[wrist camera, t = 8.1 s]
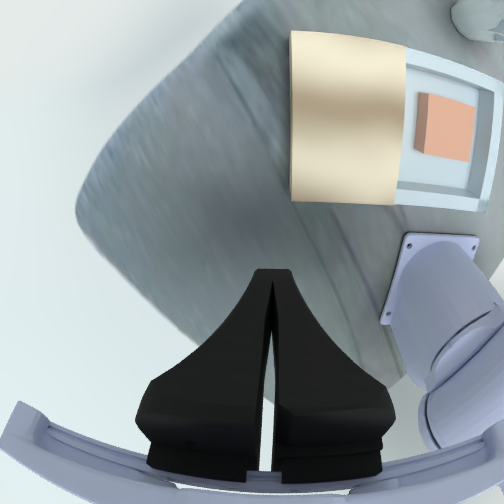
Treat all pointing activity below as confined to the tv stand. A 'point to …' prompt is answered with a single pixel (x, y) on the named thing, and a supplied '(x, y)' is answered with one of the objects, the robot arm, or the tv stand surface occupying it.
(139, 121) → the tv stand surface
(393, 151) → the beige wooden block
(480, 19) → the milkshake
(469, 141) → the tile
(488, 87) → the box
